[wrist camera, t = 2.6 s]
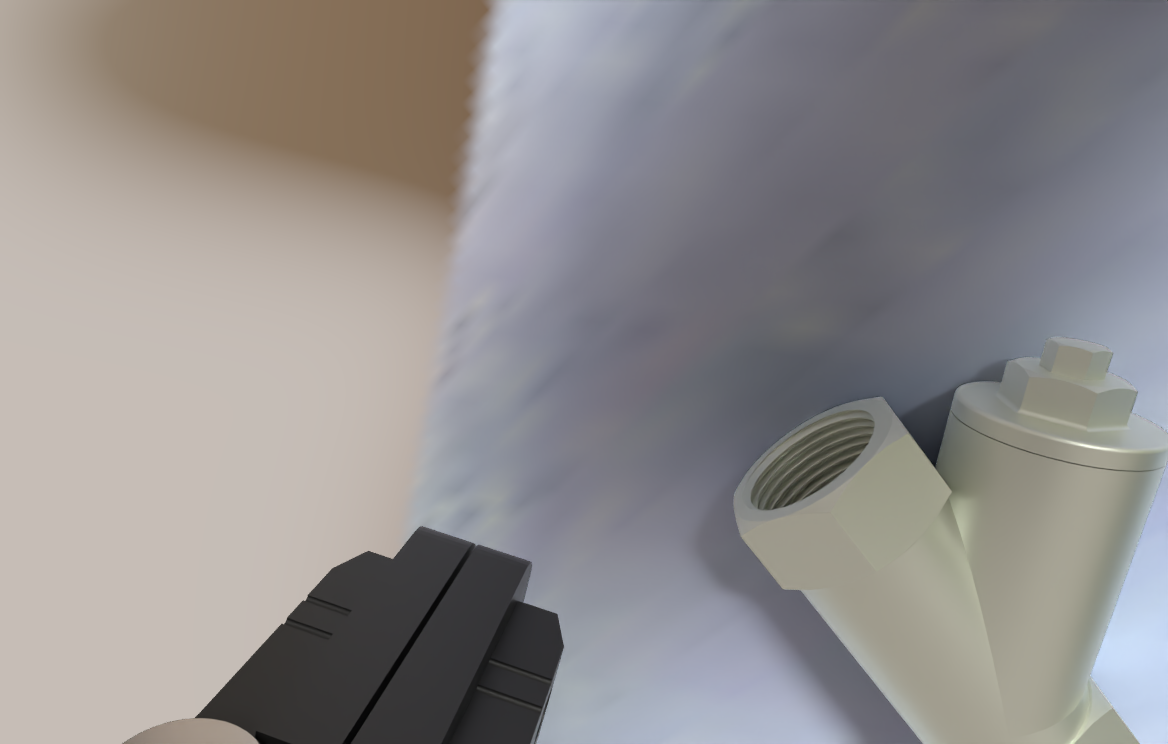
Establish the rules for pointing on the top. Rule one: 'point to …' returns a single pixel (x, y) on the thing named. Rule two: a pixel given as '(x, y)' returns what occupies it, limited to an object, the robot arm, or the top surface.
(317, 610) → the robot arm
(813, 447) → the pipe fitting
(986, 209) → the top surface
